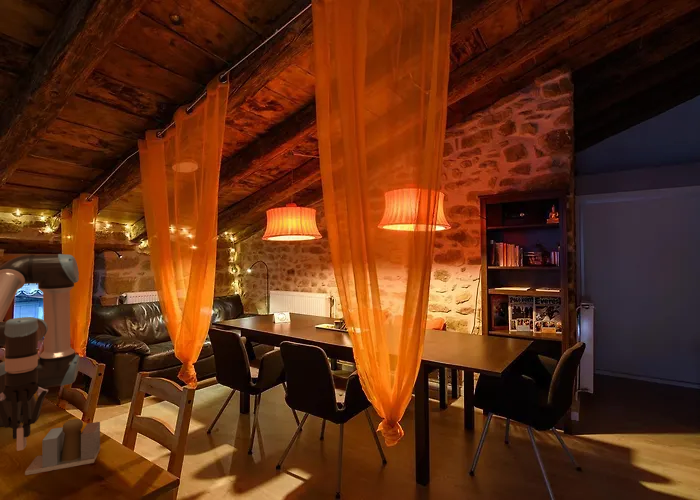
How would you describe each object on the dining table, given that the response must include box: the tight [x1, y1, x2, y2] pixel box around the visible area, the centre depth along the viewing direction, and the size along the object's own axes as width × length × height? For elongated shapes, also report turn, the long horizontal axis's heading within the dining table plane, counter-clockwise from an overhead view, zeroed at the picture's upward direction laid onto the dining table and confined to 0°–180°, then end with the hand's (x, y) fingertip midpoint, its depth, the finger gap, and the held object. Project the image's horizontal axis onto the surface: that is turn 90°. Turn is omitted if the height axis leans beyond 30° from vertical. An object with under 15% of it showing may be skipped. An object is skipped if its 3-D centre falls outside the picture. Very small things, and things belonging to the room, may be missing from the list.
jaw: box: [41, 426, 65, 467], centre depth 118 cm, size 8×4×8 cm, turn 23°
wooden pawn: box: [61, 418, 84, 461], centre depth 120 cm, size 6×6×11 cm
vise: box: [24, 421, 101, 476], centre depth 119 cm, size 9×17×9 cm, turn 113°
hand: (21, 448), depth 115 cm, fingers closed
